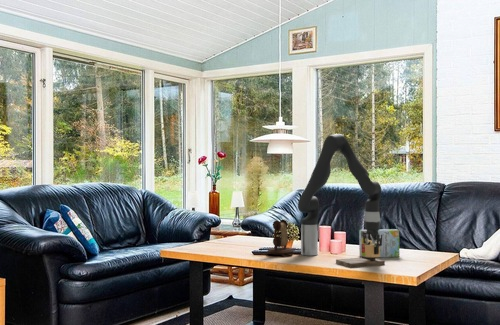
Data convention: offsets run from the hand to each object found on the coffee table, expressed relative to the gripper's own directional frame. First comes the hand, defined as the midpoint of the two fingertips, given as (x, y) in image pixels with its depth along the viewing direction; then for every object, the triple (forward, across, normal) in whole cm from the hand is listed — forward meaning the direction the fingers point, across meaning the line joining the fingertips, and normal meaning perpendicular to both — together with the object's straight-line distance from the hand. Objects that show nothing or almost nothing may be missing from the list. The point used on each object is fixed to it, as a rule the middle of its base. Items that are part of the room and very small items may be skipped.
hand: (372, 253), depth 281 cm
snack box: (+6, -20, +18) cm, 28 cm away
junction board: (+6, -3, -6) cm, 8 cm away
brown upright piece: (+6, -47, -30) cm, 56 cm away
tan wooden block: (+2, 0, 0) cm, 2 cm away
